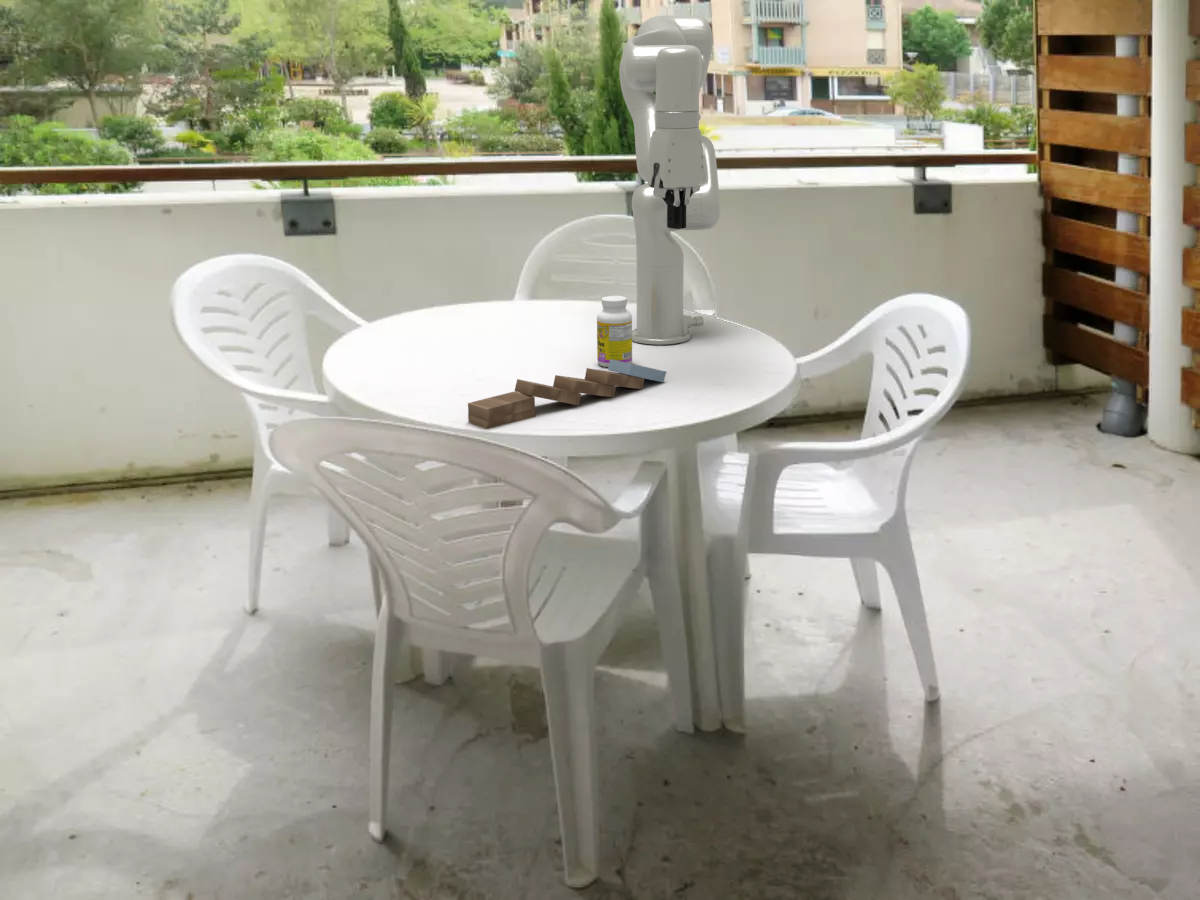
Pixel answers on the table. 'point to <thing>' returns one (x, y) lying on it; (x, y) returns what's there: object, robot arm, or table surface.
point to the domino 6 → (636, 370)
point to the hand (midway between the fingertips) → (676, 227)
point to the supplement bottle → (614, 331)
